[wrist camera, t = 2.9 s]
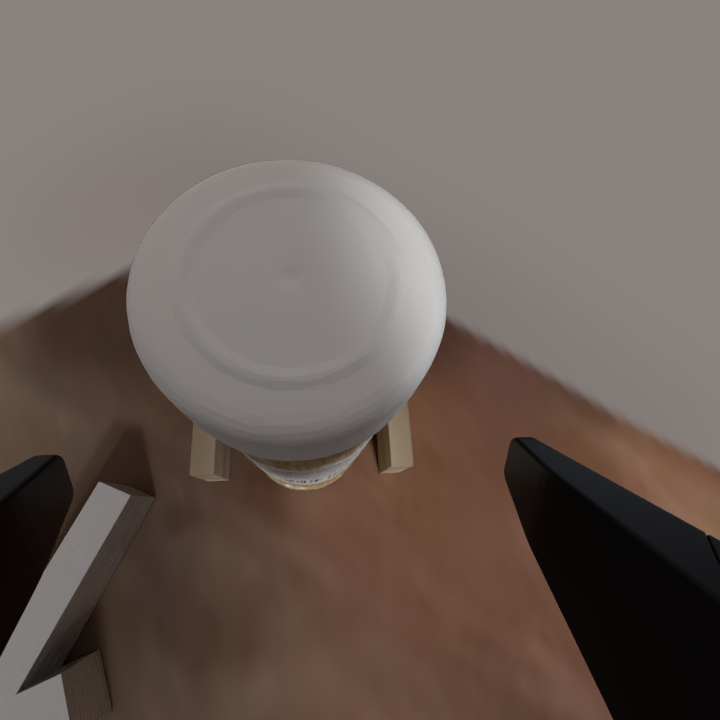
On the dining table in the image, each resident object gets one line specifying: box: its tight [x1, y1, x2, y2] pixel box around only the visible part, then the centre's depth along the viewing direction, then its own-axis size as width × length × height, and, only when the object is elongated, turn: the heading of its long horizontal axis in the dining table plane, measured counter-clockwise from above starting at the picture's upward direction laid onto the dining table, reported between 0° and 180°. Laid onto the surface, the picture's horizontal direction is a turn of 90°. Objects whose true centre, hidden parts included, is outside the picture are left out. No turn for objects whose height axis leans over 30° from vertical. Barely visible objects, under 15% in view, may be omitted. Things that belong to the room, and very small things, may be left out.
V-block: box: [0, 482, 155, 720], centre depth 14 cm, size 7×10×2 cm
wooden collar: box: [189, 401, 413, 481], centre depth 17 cm, size 6×8×3 cm
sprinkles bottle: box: [126, 160, 447, 490], centre depth 12 cm, size 5×5×14 cm
